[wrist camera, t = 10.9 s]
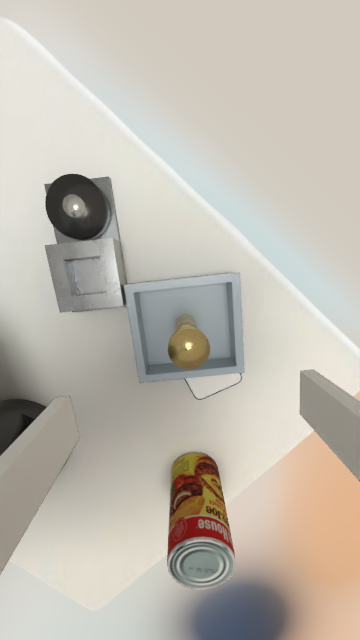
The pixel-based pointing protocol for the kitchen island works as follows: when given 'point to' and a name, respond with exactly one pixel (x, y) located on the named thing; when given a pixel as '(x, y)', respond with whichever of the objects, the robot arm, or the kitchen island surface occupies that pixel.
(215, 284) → the tray
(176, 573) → the canned food
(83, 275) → the tensioner
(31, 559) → the kitchen island surface
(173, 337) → the lock pin
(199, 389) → the smartphone
